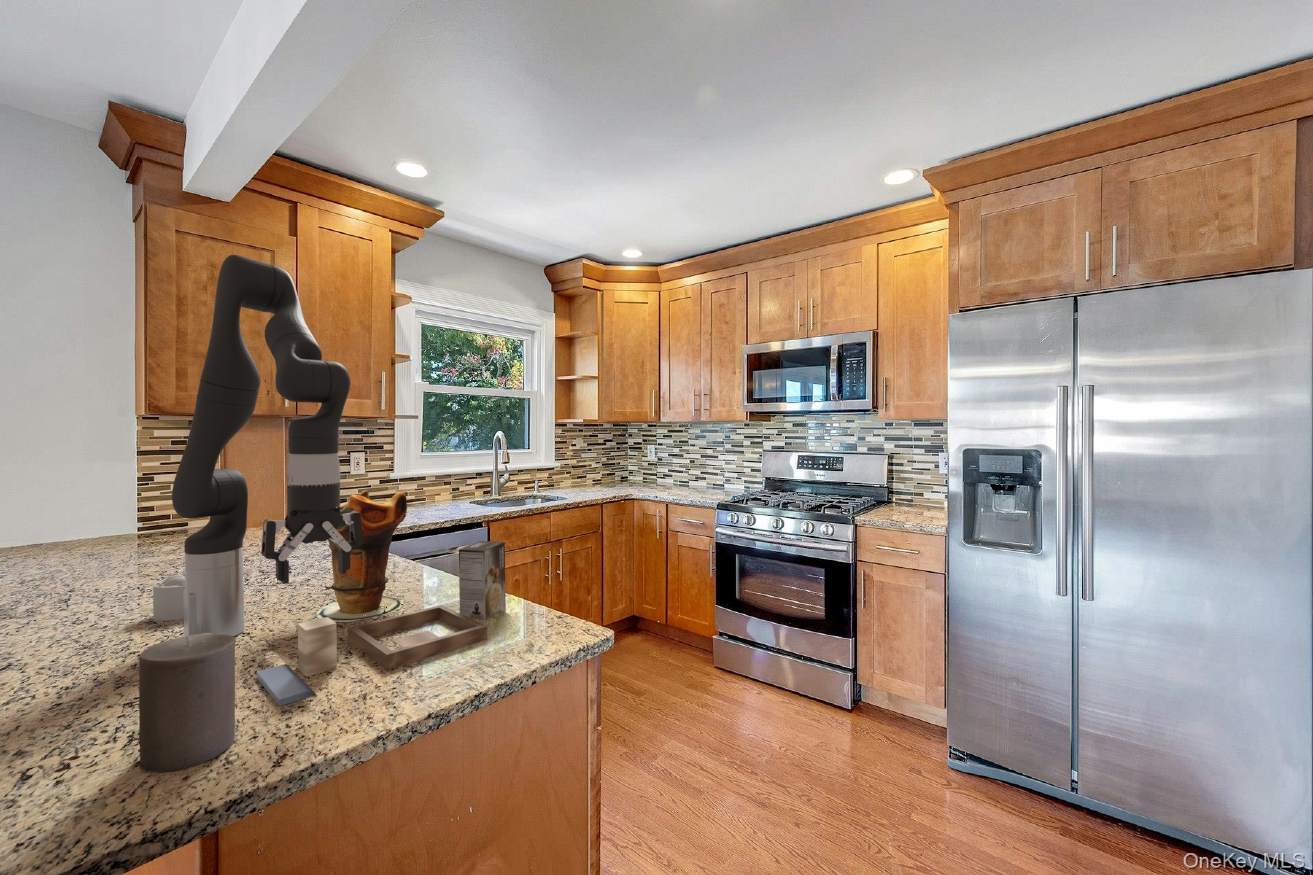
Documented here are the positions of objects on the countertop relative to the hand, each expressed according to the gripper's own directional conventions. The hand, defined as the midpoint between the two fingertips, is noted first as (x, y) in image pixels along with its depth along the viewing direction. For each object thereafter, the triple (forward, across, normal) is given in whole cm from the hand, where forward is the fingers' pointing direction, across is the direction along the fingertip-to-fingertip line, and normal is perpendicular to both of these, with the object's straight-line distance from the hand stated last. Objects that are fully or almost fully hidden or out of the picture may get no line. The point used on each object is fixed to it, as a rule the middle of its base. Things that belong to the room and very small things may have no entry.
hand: (314, 577), depth 94 cm
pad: (+17, 0, 0) cm, 17 cm away
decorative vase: (+17, -18, -32) cm, 41 cm away
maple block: (+16, 0, 0) cm, 16 cm away
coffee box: (+17, -34, -6) cm, 39 cm away
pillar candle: (+17, +18, +12) cm, 27 cm away
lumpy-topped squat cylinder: (+18, +9, -58) cm, 61 cm away
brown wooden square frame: (+17, -17, 0) cm, 24 cm away
